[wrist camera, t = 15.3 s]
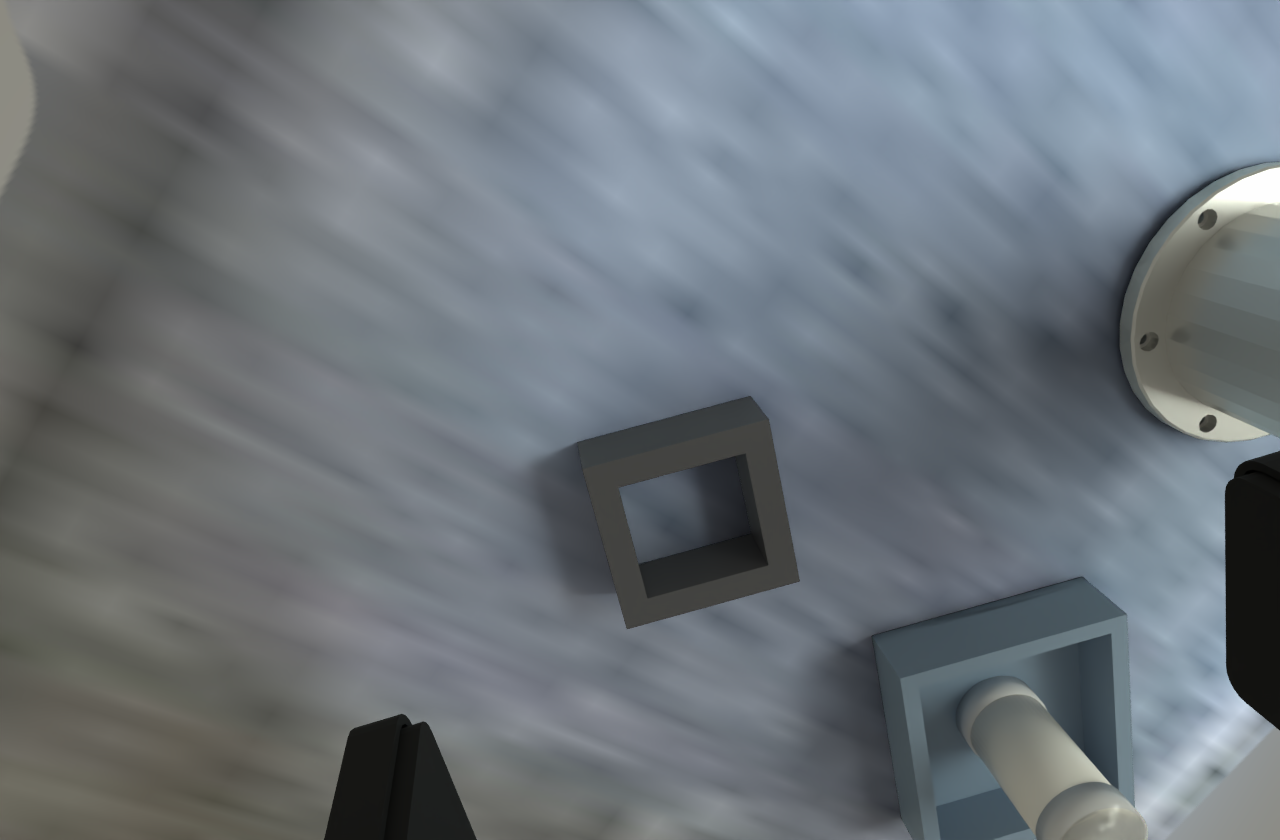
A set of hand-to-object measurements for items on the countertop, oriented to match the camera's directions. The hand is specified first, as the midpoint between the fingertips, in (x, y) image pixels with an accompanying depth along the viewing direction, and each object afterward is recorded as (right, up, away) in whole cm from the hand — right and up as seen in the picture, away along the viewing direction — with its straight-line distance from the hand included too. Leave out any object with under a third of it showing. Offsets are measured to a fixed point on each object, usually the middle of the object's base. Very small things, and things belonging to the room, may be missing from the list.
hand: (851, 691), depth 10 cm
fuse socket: (0, 0, +31) cm, 31 cm away
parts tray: (+16, -12, +37) cm, 42 cm away
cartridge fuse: (+16, -12, +36) cm, 42 cm away
